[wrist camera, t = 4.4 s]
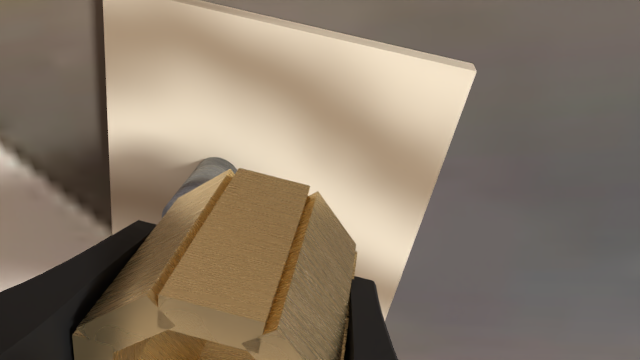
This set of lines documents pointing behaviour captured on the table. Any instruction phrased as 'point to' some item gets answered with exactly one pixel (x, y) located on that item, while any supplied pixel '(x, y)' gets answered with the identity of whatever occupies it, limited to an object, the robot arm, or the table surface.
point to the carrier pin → (201, 177)
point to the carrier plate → (279, 117)
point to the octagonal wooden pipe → (230, 279)
